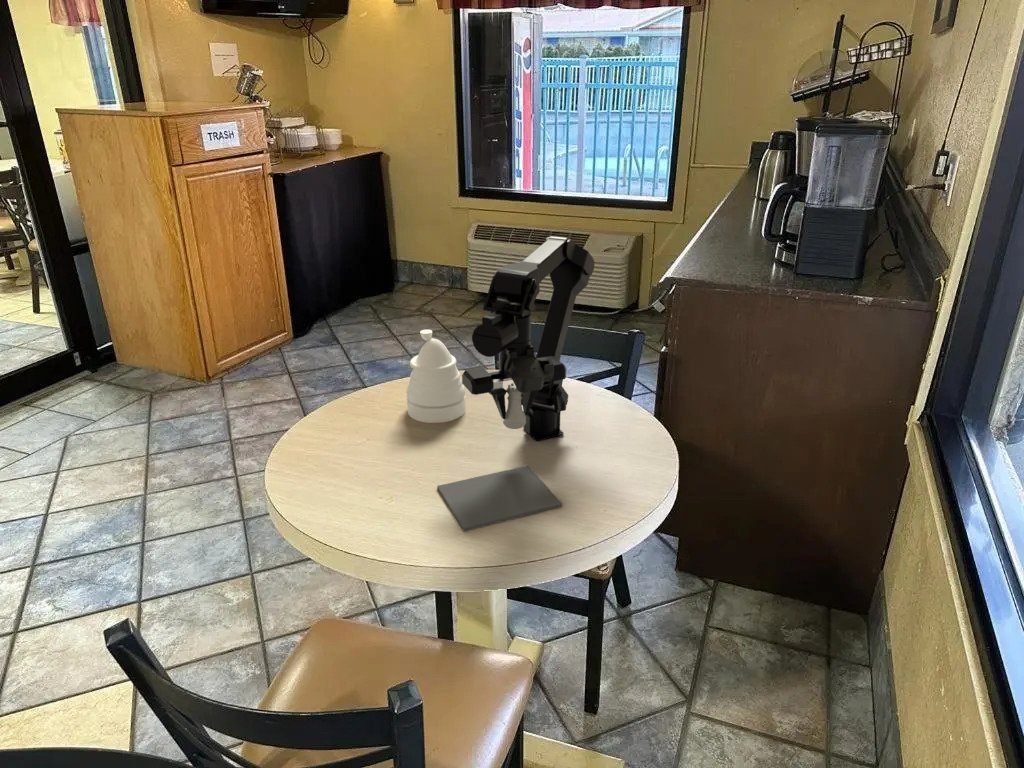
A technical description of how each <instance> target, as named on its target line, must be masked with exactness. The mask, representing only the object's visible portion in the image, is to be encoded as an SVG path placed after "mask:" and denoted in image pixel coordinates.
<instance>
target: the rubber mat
mask: <svg viewBox="0 0 1024 768" xmlns="http://www.w3.org/2000/svg"><path fill="white" fill-rule="evenodd" d="M437 490H438V492H439V494H440V495H441V497H442V499H443V500H444V502H445V503H446V505H447V506H448V508H449V509H450V512H451V513H452V514H453V516H454V517H455V519H456V520H457V522H458V524H459V525H460V526H461V528H462V530H463V532H467V531H471V530H473V529H478V528H482V527H485V526H490V525H494V524H498V523H501V522H502V523H503V522H506V521H510V520H513V519H517V518H522V517H525V516H529V515H533V514H537V513H541V512H546V511H549V510H553V509H556V508H557V509H558V508H562V507H563V503H562V502H561V500H559V498H558V497H557V496H556V495H555V494H554V493H553V492H552V490H551V489H549V487H548V486H547V485H546V484H545V483H544V482H543V480H542V479H541V478H540V477H539V476H538V475H537V474H536V473H535V472H534V470H533V469H532V468H531V467H530V466H529V465H525V466H520V467H515V468H511V469H507V470H502V471H497V472H493V473H489V474H485V475H480V476H479V475H478V476H476V477H470V478H466V479H462V480H457V481H454V482H453V481H452V482H448V483H444V484H440V485H439V484H438V485H437Z"/></svg>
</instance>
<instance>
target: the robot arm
mask: <svg viewBox="0 0 1024 768" xmlns="http://www.w3.org/2000/svg"><path fill="white" fill-rule="evenodd" d="M590 253H591V252H590V251H588V250H587V249H585V248H583V247H582V246H581V245H579V244H576V243H575V241H574V240H573V239H570V238H569V237H565V236H556V235H551V236H547V237H546V238H545V240H544V242H543V243H542V244H541V245H540V246H539V247H537V248H536V249H535V250H534V251H533V252H532V253H530V254H529V255H528V256H526V257H525V258H524V259H523V260H522V261H520V262H516V263H509V264H506V265H504V266H502V267H500V268H498V270H496V272H495V274H494V275H492V278H491V282H490V285H489V289H488V293H487V295H486V297H485V301H484V303H483V304H484V305H483V308H482V309H483V311H484V312H490V313H489V314H486V315H484V316H482V319H481V322H482V323H481V324H478V325H477V326H476V327H475V329H474V330H473V333H472V335H471V340H472V344H473V347H474V348H475V350H476V352H477V353H479V354H480V355H482V356H484V357H486V358H488V357H489V358H492V357H496V356H497V355H498V360H496V367H497V368H498V371H492V372H488V371H487V369H485V368H484V367H483V366H481V367H475V368H469V369H465V370H464V371H463V373H462V374H461V379H462V384H463V385H464V386H465V389H466V390H468V392H469V393H470V394H471V395H475V396H477V395H483V394H487V393H488V394H489V395H490V396H492V399H493V401H494V403H495V406H496V408H497V411H498V413H499V415H500V417H501V419H502V420H504V419H505V416H506V411H507V409H506V397H505V396H506V394H507V391H506V389H505V388H504V385H503V382H507V381H512V383H513V384H514V385H516V388H517V390H518V391H519V392H522V394H521V397H522V399H521V406H522V410H523V412H524V414H525V416H526V419H525V420H526V424H525V425H524V426H523V427H522V428H523V429H524V431H525V432H526V433H528V435H529V436H530V437H532V439H533V440H534V441H536V442H537V441H543V440H547V439H548V440H549V439H552V438H558V437H562V436H564V431H562V429H561V412H565V411H566V410H567V405H568V402H569V394H568V393H567V391H566V390H565V388H564V387H563V386H562V385H563V380H565V379H567V367H566V365H565V364H564V363H563V362H562V361H561V356H562V353H563V348H564V345H565V341H566V337H567V332H568V330H569V325H570V321H571V317H572V313H573V310H574V306H575V303H576V299H577V296H578V295H579V294H580V293H581V292H582V291H583V290H584V289H585V288H586V287H587V286H588V285H589V280H590V278H591V276H592V274H593V273H594V270H595V259H594V258H593V255H591V254H590ZM547 276H549V278H550V281H551V284H552V287H553V290H552V295H551V298H550V303H549V306H548V309H547V314H546V317H545V321H544V325H543V328H542V333H541V336H540V341H539V345H538V347H537V352H536V356H535V350H534V349H535V347H534V346H533V345H532V344H531V343H532V342H531V339H532V338H531V337H532V336H531V334H532V310H534V309H535V308H536V305H535V301H536V299H537V296H538V295H539V293H540V290H541V289H540V285H541V282H542V281H544V279H546V278H547ZM500 301H501V302H500ZM508 302H509V303H508Z"/></svg>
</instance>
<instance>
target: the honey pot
mask: <svg viewBox="0 0 1024 768" xmlns="http://www.w3.org/2000/svg"><path fill="white" fill-rule="evenodd" d="M419 333H420V334H419V335H420V336H421V339H423V340H425V341H426V342H425V343H424V344H423V345H422V347H421V349H420V351H419V352H418V355H415V356H413V357H412V358H411V359H410V361H409V365H410V367H411V368H412V371H411V373H410V376H409V380H408V384H407V387H406V408H407V414H408V416H409V417H410V418H411V419H413V420H415V421H417V422H422V423H427V424H428V423H429V424H440V423H449V422H451V421H454V420H456V419H459V418H461V416H463V415H464V414H465V412H466V410H467V409H466V387H465V386H464V385H463V384H462V376H461V373H460V371H459V370H458V368H457V365H456V364H457V358H456V357H455V356H454V355H452V354H451V353H450V351H449V350H448V348H447V347H446V345H445V344H444V343H443V342H442V341H441V340H439V339H437V338H433V337H432V336H433V330H432V329H422V330H420V332H419Z"/></svg>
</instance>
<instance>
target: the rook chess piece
mask: <svg viewBox="0 0 1024 768" xmlns="http://www.w3.org/2000/svg"><path fill="white" fill-rule="evenodd" d="M505 390H506V391H507V392H506V394H507V397H506V398H507V400H508V402H507V409H506V416H505V419H503V421H502V424H503V425H504V426H505V428H508V429H510V430H520V429H522V428H523V426H524V425H525V424H526V420H525V419H526V416H525V414H524V411H523V405H521V399H522V397H521V394H522V392H519V391H518V390H517V388H516V385H515V384H514V382H511V383H509V384H508V385H507V388H506V389H505Z"/></svg>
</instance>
